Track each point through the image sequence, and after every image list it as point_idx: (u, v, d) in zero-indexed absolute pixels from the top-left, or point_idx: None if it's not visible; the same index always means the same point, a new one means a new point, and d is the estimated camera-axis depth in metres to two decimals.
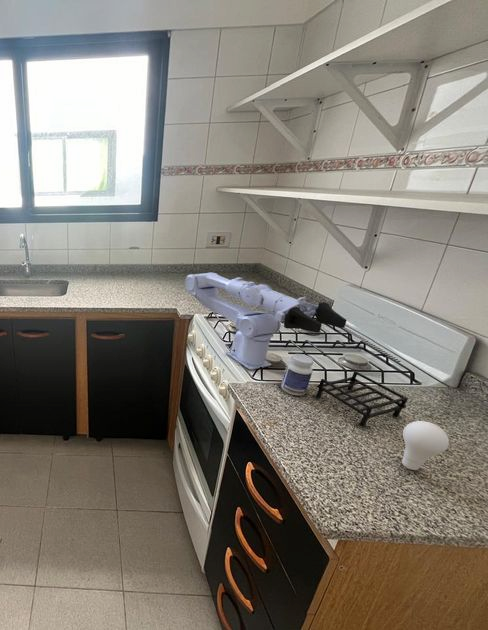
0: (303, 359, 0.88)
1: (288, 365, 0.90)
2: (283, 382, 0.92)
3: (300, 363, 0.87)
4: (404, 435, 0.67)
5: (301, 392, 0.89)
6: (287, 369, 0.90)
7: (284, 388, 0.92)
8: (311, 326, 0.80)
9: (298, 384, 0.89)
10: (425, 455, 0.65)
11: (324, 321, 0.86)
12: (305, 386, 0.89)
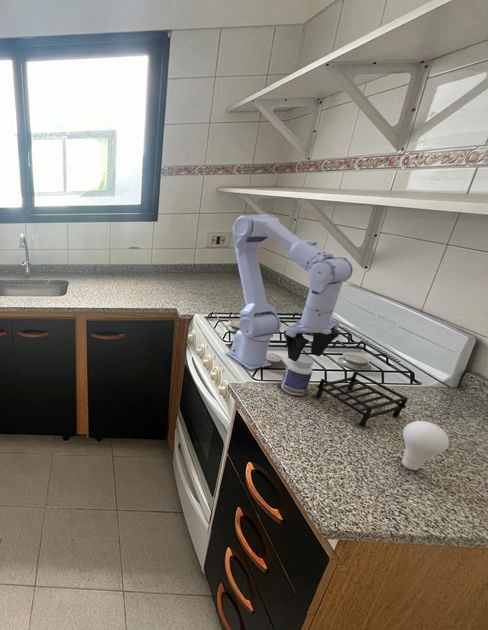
0: (303, 359, 0.88)
1: (288, 365, 0.90)
2: (283, 382, 0.92)
3: (300, 363, 0.87)
4: (404, 435, 0.67)
5: (301, 392, 0.89)
6: (287, 369, 0.90)
7: (284, 388, 0.92)
8: (291, 353, 0.86)
9: (298, 384, 0.89)
10: (425, 455, 0.65)
11: (316, 336, 0.88)
12: (305, 386, 0.89)
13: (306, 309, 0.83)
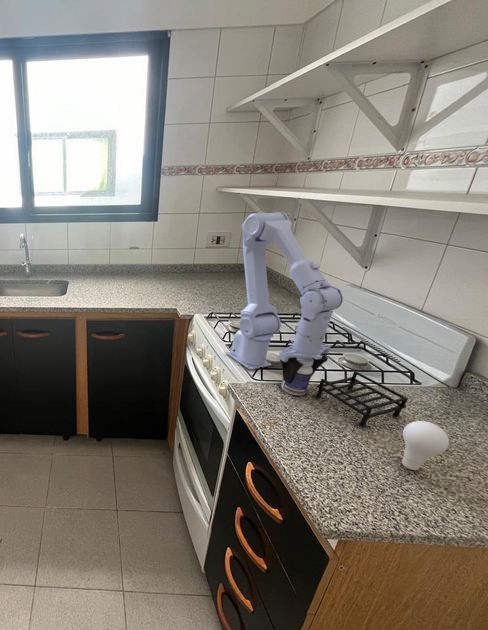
0: (304, 359, 0.88)
1: None
2: (283, 382, 0.92)
3: (301, 363, 0.87)
4: (404, 435, 0.67)
5: (301, 392, 0.89)
6: None
7: (284, 388, 0.92)
8: (286, 376, 0.90)
9: (298, 384, 0.89)
10: (425, 455, 0.65)
11: None
12: (305, 386, 0.89)
13: (298, 335, 0.86)
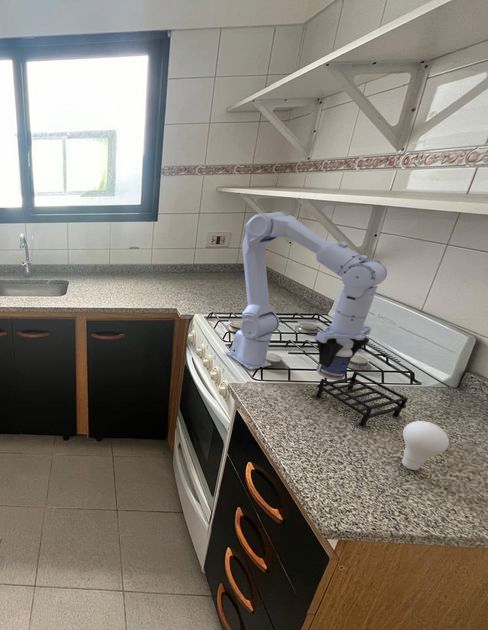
0: (343, 341, 0.82)
1: None
2: (319, 366, 0.86)
3: None
4: (404, 435, 0.67)
5: (339, 376, 0.84)
6: None
7: (320, 373, 0.86)
8: (323, 359, 0.84)
9: (337, 368, 0.83)
10: (425, 455, 0.65)
11: None
12: (344, 370, 0.83)
13: (338, 314, 0.80)
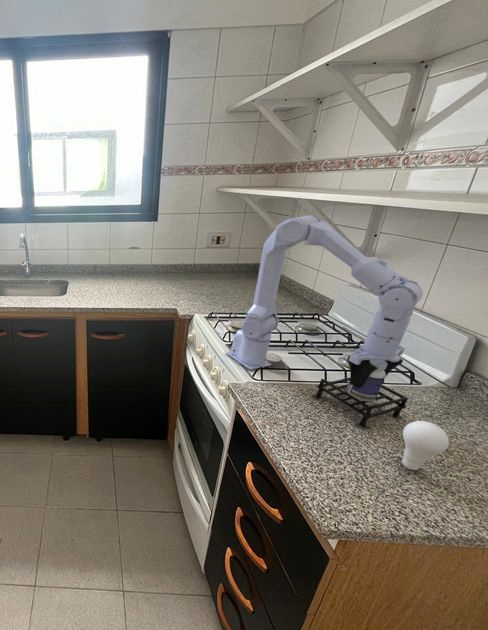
0: (376, 362, 0.80)
1: None
2: (350, 387, 0.84)
3: None
4: (404, 435, 0.67)
5: (372, 398, 0.82)
6: None
7: (351, 393, 0.84)
8: (355, 380, 0.82)
9: (370, 389, 0.81)
10: (425, 455, 0.65)
11: None
12: (377, 391, 0.81)
13: (371, 335, 0.78)
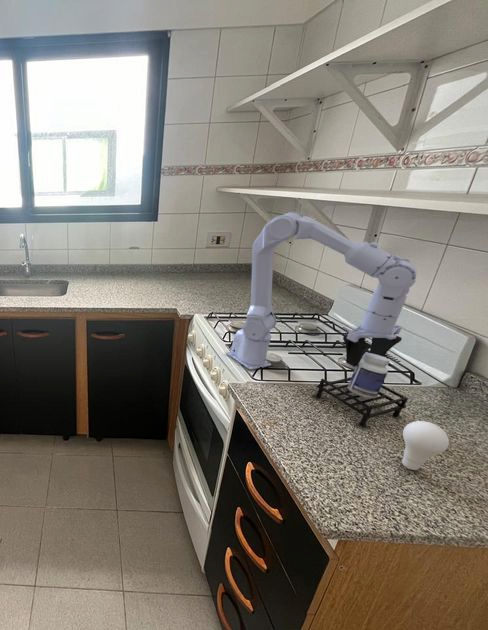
0: (379, 357, 0.81)
1: (360, 364, 0.83)
2: (352, 383, 0.84)
3: (377, 361, 0.80)
4: (404, 435, 0.67)
5: (373, 394, 0.81)
6: (358, 368, 0.83)
7: (353, 389, 0.84)
8: (351, 358, 0.84)
9: (372, 385, 0.81)
10: (425, 455, 0.65)
11: (375, 341, 0.86)
12: (378, 388, 0.81)
13: (369, 313, 0.80)
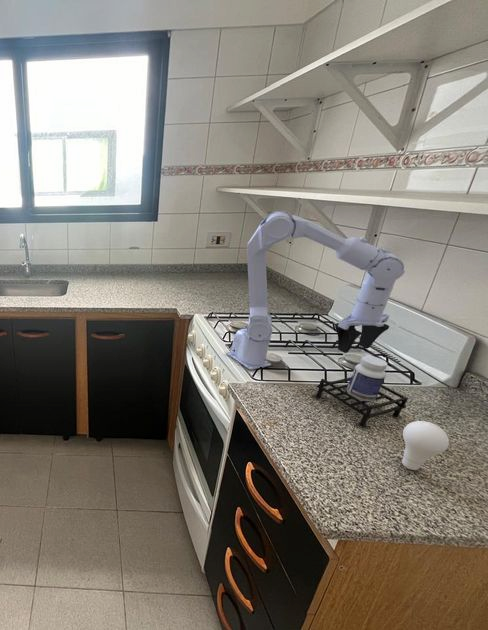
0: (376, 362, 0.80)
1: (357, 368, 0.82)
2: (350, 387, 0.84)
3: (373, 366, 0.79)
4: (404, 435, 0.67)
5: (372, 398, 0.82)
6: (356, 372, 0.83)
7: (351, 393, 0.84)
8: (342, 345, 0.90)
9: (370, 389, 0.81)
10: (425, 455, 0.65)
11: (365, 329, 0.92)
12: (377, 391, 0.81)
13: (359, 303, 0.86)
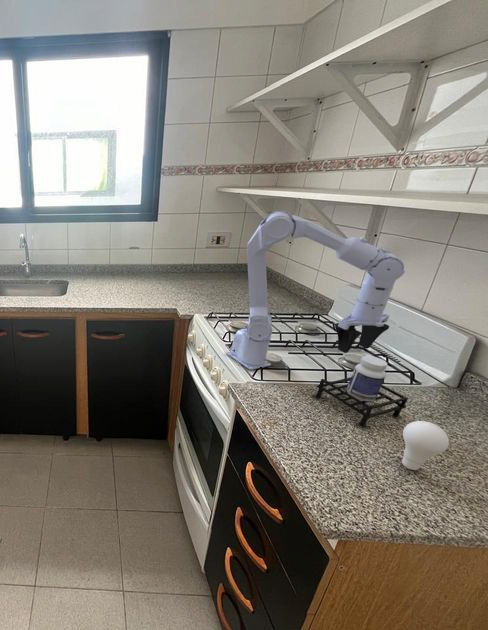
0: (376, 362, 0.80)
1: (357, 368, 0.82)
2: (350, 387, 0.84)
3: (373, 366, 0.79)
4: (404, 435, 0.67)
5: (372, 398, 0.82)
6: (356, 372, 0.83)
7: (351, 393, 0.84)
8: (342, 345, 0.90)
9: (370, 389, 0.81)
10: (425, 455, 0.65)
11: (365, 329, 0.92)
12: (377, 391, 0.81)
13: (359, 303, 0.86)
